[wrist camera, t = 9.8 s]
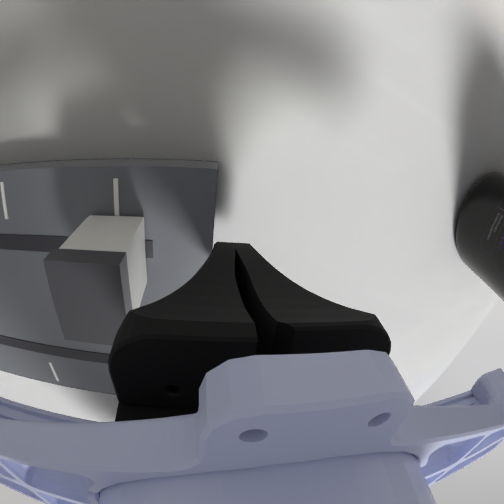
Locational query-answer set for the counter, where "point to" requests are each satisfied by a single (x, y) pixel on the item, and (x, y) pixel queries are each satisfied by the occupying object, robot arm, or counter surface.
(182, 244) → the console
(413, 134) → the counter surface
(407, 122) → the counter surface
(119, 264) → the fader black
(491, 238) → the supplement bottle
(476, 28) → the counter surface
